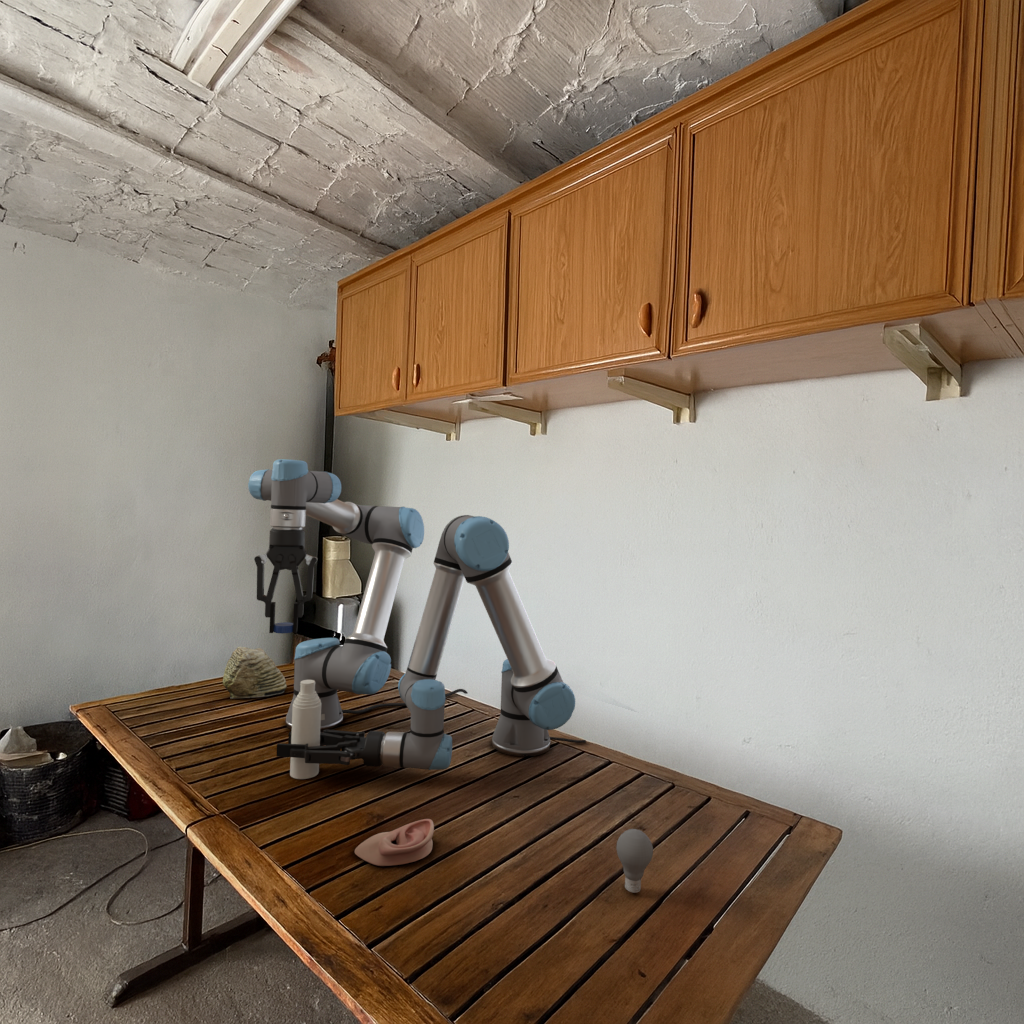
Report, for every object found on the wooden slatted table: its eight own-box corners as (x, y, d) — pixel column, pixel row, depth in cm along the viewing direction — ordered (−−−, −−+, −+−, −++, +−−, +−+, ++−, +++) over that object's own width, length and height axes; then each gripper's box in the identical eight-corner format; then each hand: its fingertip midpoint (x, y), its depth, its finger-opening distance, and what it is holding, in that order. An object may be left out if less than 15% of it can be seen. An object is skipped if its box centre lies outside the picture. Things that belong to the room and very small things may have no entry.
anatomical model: (347, 838, 110) (374, 807, 122) (346, 860, 111) (373, 828, 122) (419, 850, 108) (440, 817, 119) (418, 873, 108) (439, 838, 119)
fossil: (218, 695, 195) (220, 647, 195) (278, 685, 208) (279, 640, 207) (228, 703, 189) (230, 653, 188) (289, 692, 201) (290, 645, 201)
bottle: (311, 765, 149) (314, 676, 149) (323, 774, 144) (327, 682, 144) (285, 772, 145) (288, 680, 144) (297, 781, 140) (300, 687, 140)
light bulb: (610, 879, 108) (613, 822, 108) (644, 879, 109) (647, 822, 109) (619, 902, 102) (622, 840, 102) (655, 901, 103) (658, 840, 103)
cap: (271, 630, 144) (272, 622, 144) (292, 629, 146) (292, 621, 146) (274, 634, 140) (275, 626, 140) (295, 632, 142) (296, 625, 142)
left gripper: (243, 527, 137) (239, 635, 137) (327, 530, 141) (322, 635, 141) (249, 526, 144) (245, 628, 144) (328, 528, 148) (324, 628, 149)
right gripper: (372, 784, 135) (265, 778, 135) (392, 748, 154) (297, 743, 154) (374, 749, 134) (266, 743, 135) (393, 718, 154) (299, 713, 154)
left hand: (283, 631), depth 143 cm, fingers closed on cap, 4 cm apart
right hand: (283, 743), depth 145 cm, fingers closed on bottle, 6 cm apart
